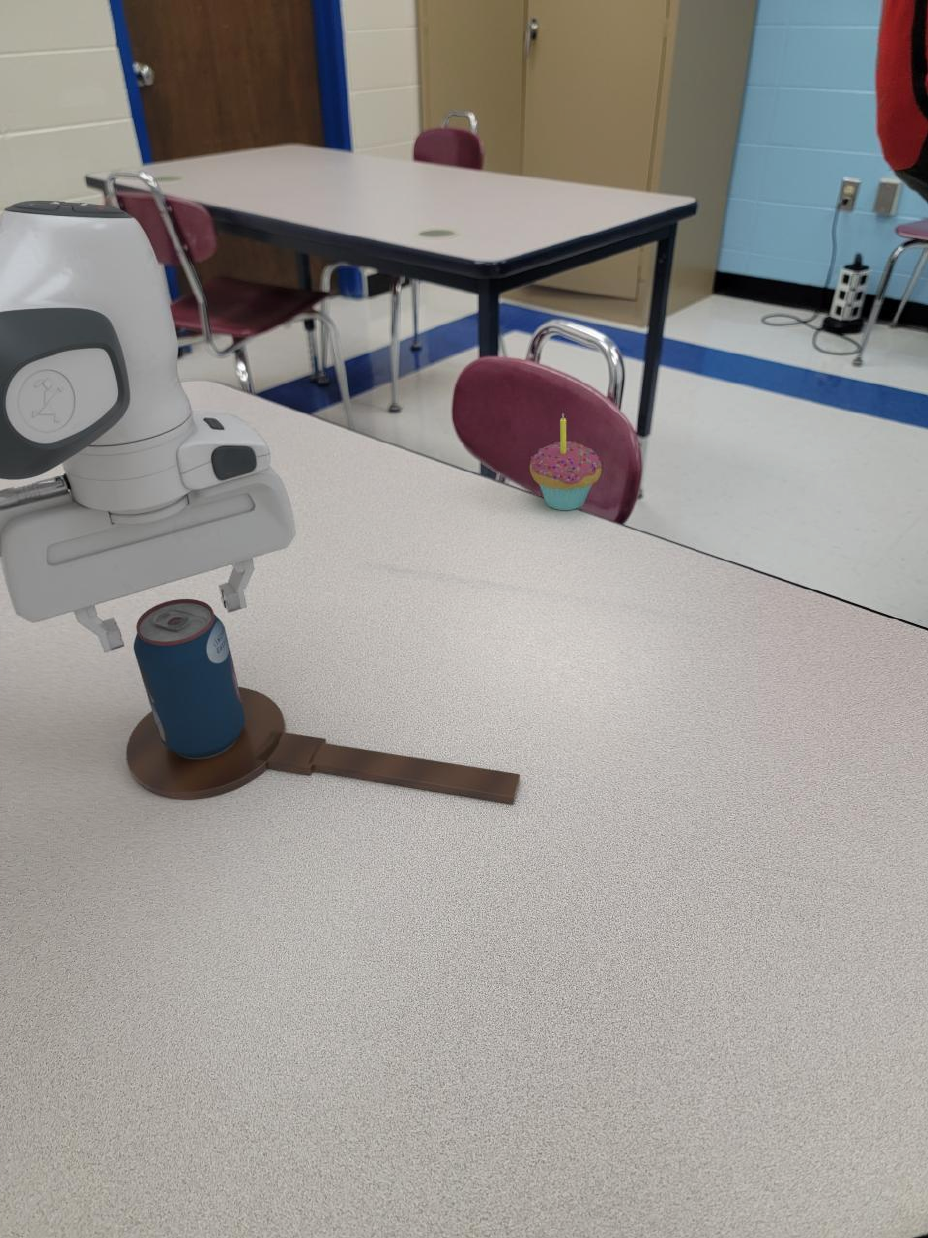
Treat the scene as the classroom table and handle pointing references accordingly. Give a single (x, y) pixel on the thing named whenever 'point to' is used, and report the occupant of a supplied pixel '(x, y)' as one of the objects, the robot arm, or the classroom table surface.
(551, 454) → the cupcake
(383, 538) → the classroom table surface
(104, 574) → the robot arm
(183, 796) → the serving spoon
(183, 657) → the soda can
